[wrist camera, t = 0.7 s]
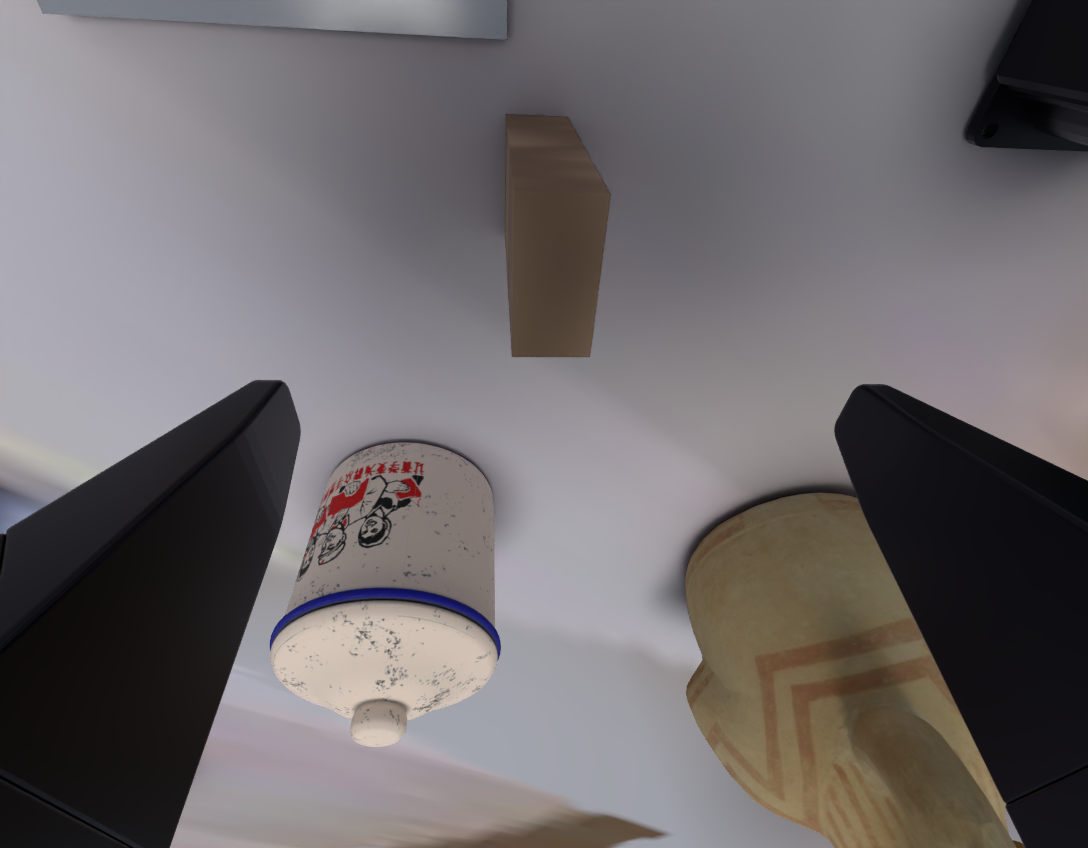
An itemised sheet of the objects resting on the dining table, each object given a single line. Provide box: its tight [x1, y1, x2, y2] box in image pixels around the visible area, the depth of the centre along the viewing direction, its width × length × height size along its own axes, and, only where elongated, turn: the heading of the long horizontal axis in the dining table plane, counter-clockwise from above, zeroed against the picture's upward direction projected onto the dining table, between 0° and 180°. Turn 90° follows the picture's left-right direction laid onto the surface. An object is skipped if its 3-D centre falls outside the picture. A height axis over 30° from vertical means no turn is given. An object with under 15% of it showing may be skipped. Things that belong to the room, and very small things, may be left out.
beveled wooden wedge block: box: [505, 114, 611, 357], centre depth 15 cm, size 2×4×8 cm, turn 177°
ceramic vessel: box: [685, 493, 1025, 848], centre depth 24 cm, size 17×20×25 cm
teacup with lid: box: [270, 442, 501, 747], centre depth 24 cm, size 12×9×12 cm
